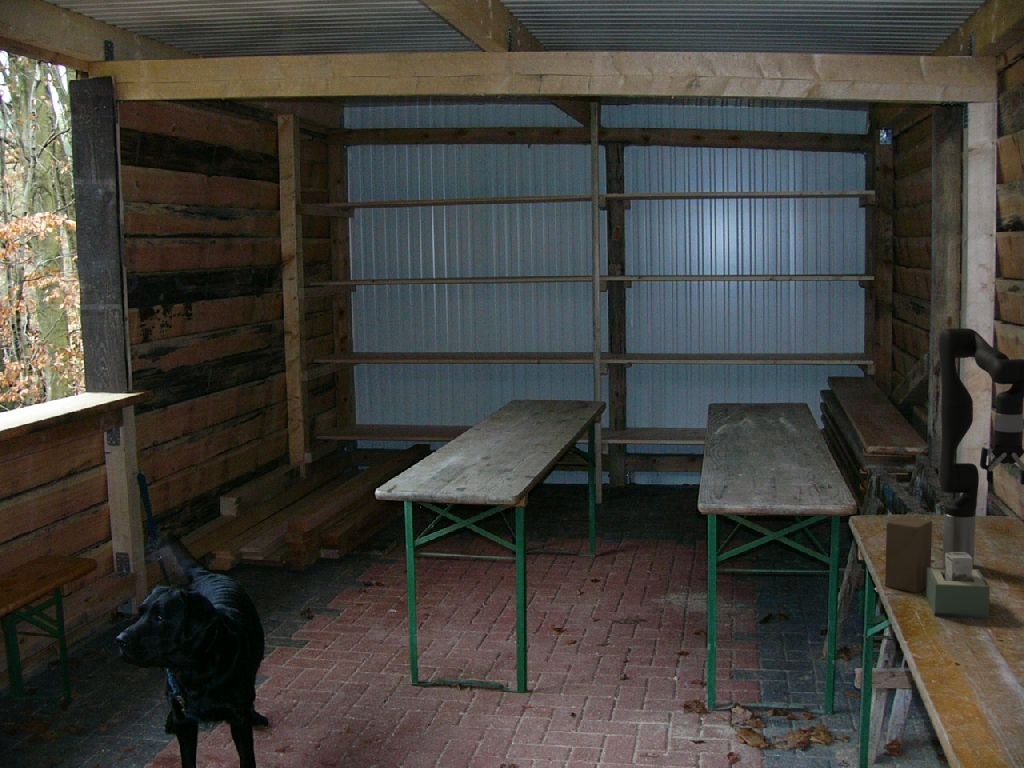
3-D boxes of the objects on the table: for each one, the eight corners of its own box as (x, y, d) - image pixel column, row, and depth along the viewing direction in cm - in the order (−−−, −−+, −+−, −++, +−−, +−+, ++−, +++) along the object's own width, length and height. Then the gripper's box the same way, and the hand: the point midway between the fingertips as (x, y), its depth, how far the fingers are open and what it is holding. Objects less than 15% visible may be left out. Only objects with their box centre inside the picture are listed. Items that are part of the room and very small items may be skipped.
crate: (926, 597, 328) (927, 567, 326) (977, 599, 325) (978, 569, 323) (934, 616, 312) (935, 584, 311) (988, 618, 309) (989, 586, 308)
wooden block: (884, 586, 338) (886, 521, 335) (898, 578, 345) (900, 515, 342) (916, 593, 331) (918, 527, 328) (930, 585, 338) (932, 520, 335)
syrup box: (963, 600, 321) (965, 551, 319) (971, 607, 315) (973, 557, 313) (943, 600, 321) (944, 551, 319) (950, 607, 316) (952, 557, 313)
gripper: (1032, 426, 324) (1029, 481, 326) (979, 425, 327) (977, 480, 329) (1038, 431, 317) (1036, 487, 319) (984, 430, 320) (982, 486, 322)
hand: (1006, 483), depth 324 cm, fingers open, 8 cm apart
